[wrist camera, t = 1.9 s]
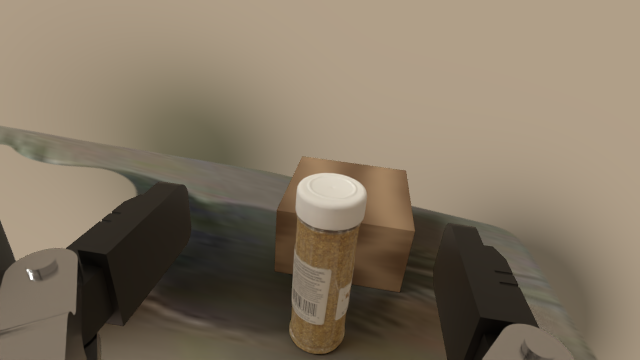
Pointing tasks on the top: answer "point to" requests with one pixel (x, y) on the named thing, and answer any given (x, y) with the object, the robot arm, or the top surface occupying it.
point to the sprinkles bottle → (324, 258)
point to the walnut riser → (376, 227)
